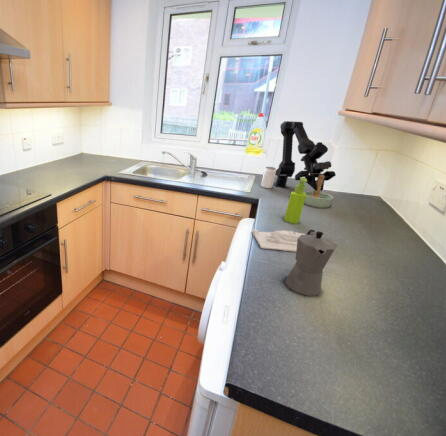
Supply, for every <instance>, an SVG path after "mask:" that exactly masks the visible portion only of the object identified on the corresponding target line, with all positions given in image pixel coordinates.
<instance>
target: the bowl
mask: <svg viewBox="0 0 446 436" xmlns="http://www.w3.org/2000/svg"><path fill="white" fill-rule="evenodd" d="M313 192H314V190H306V191H305V190H304V193H305V194H307V195H306V199H305V202H304V205H306V206H308V207H313V208H318V209H319V208H320V209H327V208H329V207H331V206H332V203H333V200H334V196H333V195H331V194H328V193H325V192H323V191H322V192H321V191H320V193H319V196H320V197H321V198H316V197H312V196H310V195H313Z"/></svg>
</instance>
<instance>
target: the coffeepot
mask: <svg viewBox="0 0 446 436" xmlns="http://www.w3.org/2000/svg"><path fill="white" fill-rule="evenodd" d="M323 235H324V232H323V231H315V230H314V229H309V230H308V232H307V234H305V235H301V236H300V237H299V238H298V241H297V250H296V252H295V260H296V261H295V263H294V265H293V266H292V268H291V270H290V272H289V273H288V276H287V277H286V280H285V281H284V283H285V285H286V286H287V287H288V288H289V289H290V290H291V291H293V292H295V293H296V294H299V295H303V296H309V297H314V296H318V295H319V294H320V292H321V289H322V282H323V273H324V272H323V270H324V269H325V267H326V265H327V264H328V262H329V260H330V258H331V256H332V255H333V253H334V251H335V250H336V248H337V247H338V245H337V244H336V243H335V242H333V241H332V240H330V239H329V238H326V237H323Z"/></svg>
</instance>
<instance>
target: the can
mask: <svg viewBox="0 0 446 436" xmlns="http://www.w3.org/2000/svg"><path fill="white" fill-rule="evenodd" d="M276 170H277V168H276V167H273V166H265V168H264V170H263V176H262V178H261V184H260V187H261V188H264V189H272V188H273V185H274V183H275V182H274V181H275V179H276V176H275V174H276Z"/></svg>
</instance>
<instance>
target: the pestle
mask: <svg viewBox="0 0 446 436" xmlns="http://www.w3.org/2000/svg"><path fill="white" fill-rule="evenodd" d="M324 177H325V176H323V175H319V176H318V179H317V178H316V180H317V182H316V184H317V188H318V190H315V189H313V191H314V192H313V195H310V196H312V197H316V198H321V197H320V196H319V193H320V192H321V191H322V190H321V186H322V183H323V180H324Z"/></svg>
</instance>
